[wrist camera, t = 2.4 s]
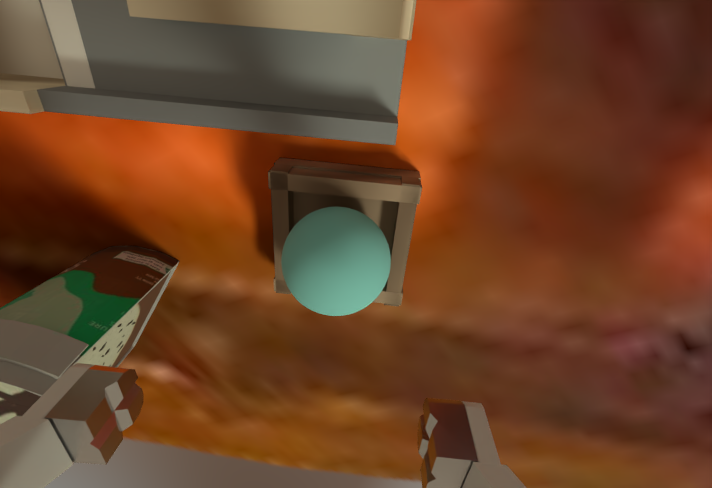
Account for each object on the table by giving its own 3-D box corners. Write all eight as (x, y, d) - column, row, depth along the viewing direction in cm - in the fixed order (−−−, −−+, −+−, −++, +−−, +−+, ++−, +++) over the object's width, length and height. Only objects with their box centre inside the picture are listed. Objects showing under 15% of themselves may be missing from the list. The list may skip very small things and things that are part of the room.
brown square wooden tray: (419, 171, 17) (422, 185, 16) (399, 284, 21) (400, 306, 19) (279, 157, 18) (267, 169, 16) (283, 272, 21) (274, 292, 19)
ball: (396, 195, 17) (398, 247, 13) (384, 279, 20) (383, 346, 15) (295, 185, 17) (263, 233, 13) (296, 269, 20) (270, 332, 15)
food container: (85, 184, 19) (-161, 299, 11) (188, 244, 21) (45, 387, 12) (45, 317, 25) (-139, 463, 16) (129, 357, 26) (1, 511, 18)
